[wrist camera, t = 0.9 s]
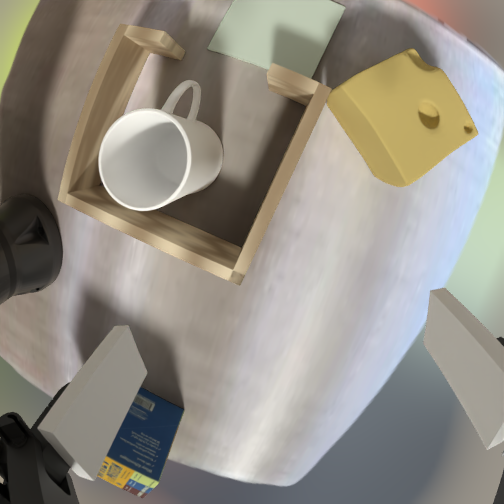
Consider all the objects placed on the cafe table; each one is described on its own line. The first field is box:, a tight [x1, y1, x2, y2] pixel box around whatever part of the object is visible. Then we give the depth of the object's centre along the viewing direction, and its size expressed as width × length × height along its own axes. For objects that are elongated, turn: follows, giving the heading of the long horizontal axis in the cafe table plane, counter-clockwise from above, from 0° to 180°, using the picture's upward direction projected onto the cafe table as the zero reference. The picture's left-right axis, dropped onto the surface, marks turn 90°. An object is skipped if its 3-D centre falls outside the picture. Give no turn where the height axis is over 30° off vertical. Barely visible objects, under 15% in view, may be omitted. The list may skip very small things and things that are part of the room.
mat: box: [207, 0, 346, 79], centre depth 27 cm, size 12×12×1 cm
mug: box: [99, 80, 223, 211], centre depth 26 cm, size 12×8×12 cm
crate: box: [58, 24, 332, 286], centre depth 29 cm, size 22×20×7 cm
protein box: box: [97, 387, 184, 498], centre depth 39 cm, size 10×15×16 cm
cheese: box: [327, 48, 478, 187], centre depth 25 cm, size 10×11×10 cm
